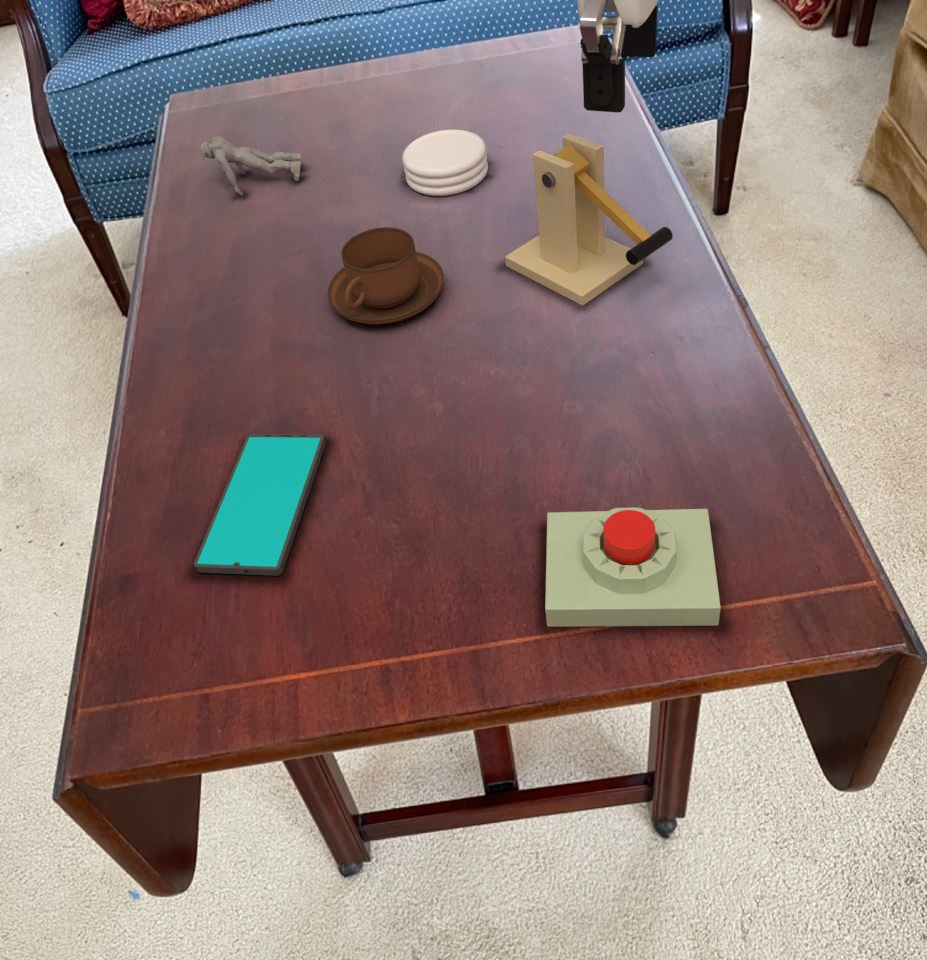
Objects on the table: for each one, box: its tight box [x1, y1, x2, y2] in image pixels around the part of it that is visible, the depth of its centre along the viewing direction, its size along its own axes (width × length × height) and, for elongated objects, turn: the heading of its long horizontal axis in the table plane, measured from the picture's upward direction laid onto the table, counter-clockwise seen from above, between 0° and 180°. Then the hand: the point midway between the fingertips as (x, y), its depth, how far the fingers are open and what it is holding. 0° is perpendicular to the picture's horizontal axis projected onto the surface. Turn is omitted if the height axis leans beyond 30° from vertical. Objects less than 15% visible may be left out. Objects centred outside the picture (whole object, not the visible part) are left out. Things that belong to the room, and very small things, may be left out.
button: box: [603, 510, 655, 564], centre depth 66 cm, size 4×4×2 cm
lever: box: [553, 145, 674, 265], centre depth 88 cm, size 13×5×2 cm, turn 42°
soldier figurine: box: [199, 135, 302, 197], centre depth 116 cm, size 6×5×12 cm
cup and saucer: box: [327, 226, 445, 325], centre depth 95 cm, size 12×12×6 cm
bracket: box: [504, 132, 644, 306], centre depth 92 cm, size 11×9×13 cm
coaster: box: [401, 129, 489, 197], centre depth 111 cm, size 10×10×4 cm
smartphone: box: [193, 433, 327, 577], centre depth 79 cm, size 7×1×15 cm
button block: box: [544, 506, 721, 628], centre depth 68 cm, size 12×9×4 cm
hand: (621, 81), depth 77 cm, fingers open, 9 cm apart
